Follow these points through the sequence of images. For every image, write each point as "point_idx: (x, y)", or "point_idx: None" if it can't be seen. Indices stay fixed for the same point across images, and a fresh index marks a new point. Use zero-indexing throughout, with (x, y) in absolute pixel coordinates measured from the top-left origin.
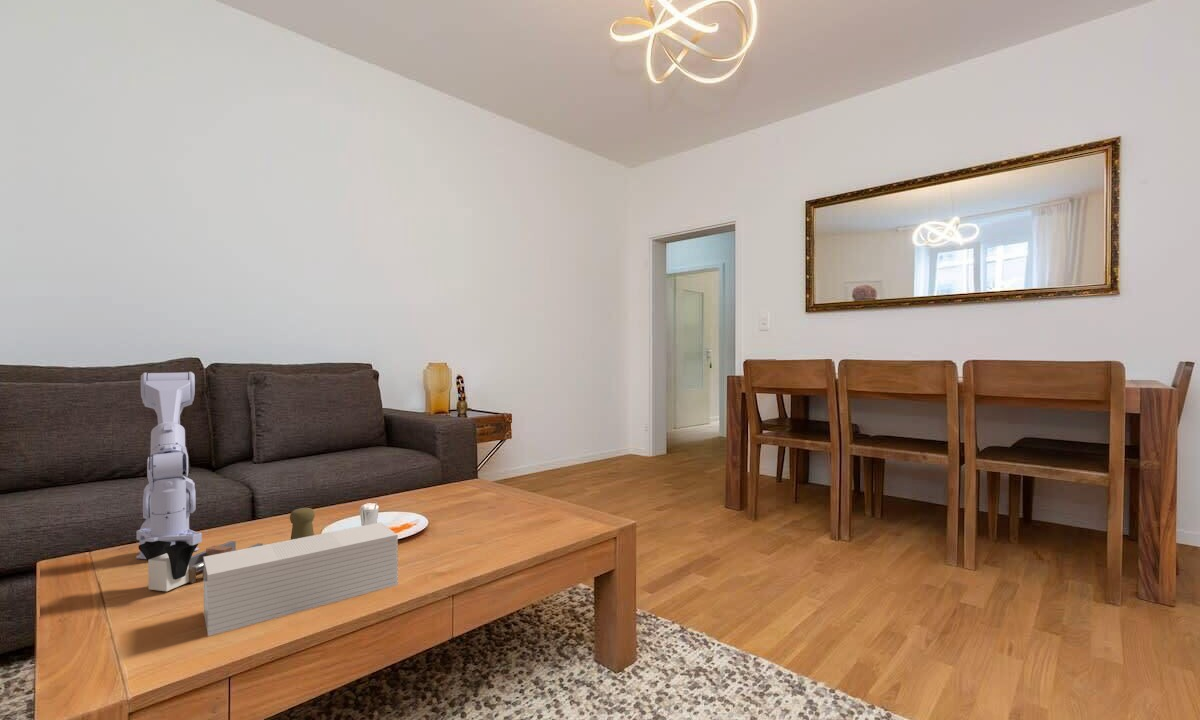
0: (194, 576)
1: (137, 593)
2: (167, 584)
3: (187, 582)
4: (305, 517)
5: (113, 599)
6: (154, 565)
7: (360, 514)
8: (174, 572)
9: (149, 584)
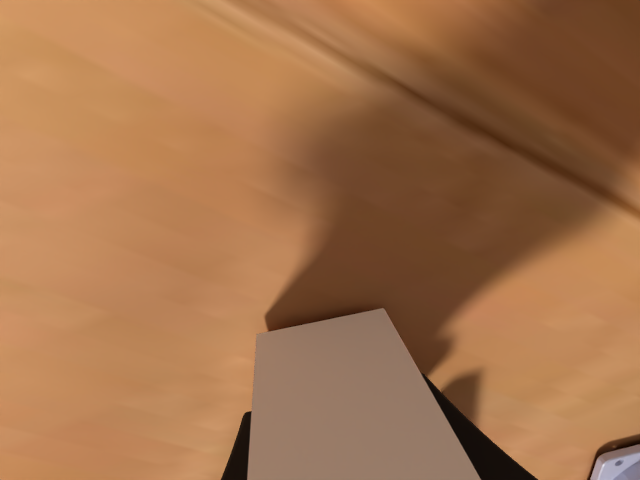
0: None
1: (411, 266)
2: (257, 366)
3: None
4: None
5: (462, 172)
6: (387, 458)
7: None
8: (231, 458)
9: (387, 326)
